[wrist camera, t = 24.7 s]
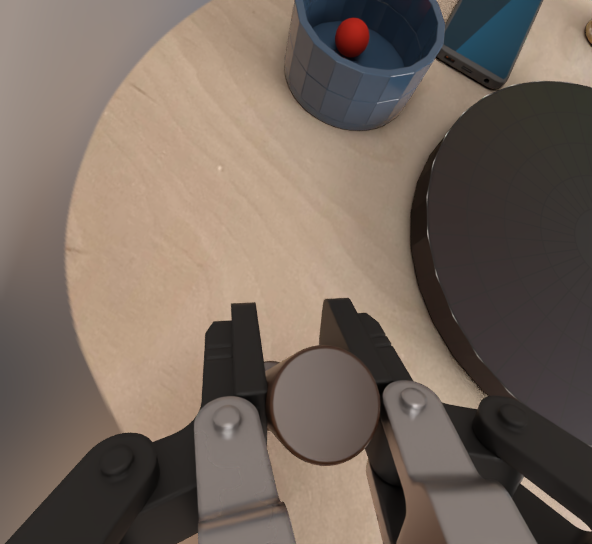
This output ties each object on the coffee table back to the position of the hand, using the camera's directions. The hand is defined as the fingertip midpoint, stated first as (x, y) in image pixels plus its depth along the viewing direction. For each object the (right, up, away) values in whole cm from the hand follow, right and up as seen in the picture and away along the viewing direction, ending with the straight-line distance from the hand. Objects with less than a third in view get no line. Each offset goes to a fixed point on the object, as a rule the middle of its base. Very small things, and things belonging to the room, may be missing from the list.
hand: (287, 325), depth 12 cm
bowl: (+5, +19, +21) cm, 29 cm away
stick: (-1, -5, +7) cm, 9 cm away
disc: (+24, +3, +20) cm, 31 cm away
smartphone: (+19, +26, +26) cm, 42 cm away
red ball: (+5, +21, +19) cm, 29 cm away
